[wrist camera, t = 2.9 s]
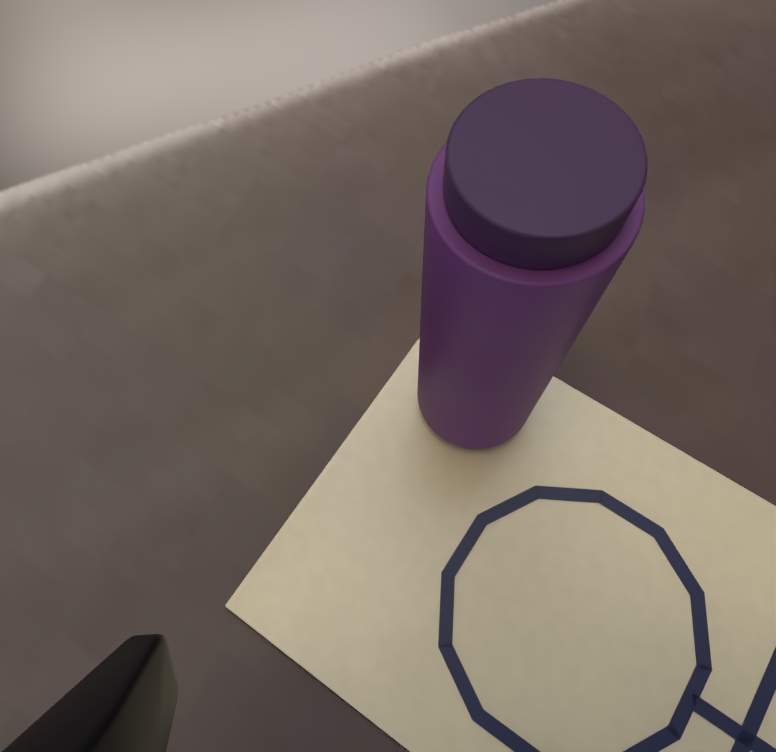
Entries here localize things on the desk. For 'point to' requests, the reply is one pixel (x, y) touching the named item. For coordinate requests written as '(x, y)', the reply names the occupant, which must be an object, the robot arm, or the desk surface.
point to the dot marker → (520, 248)
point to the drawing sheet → (528, 586)
